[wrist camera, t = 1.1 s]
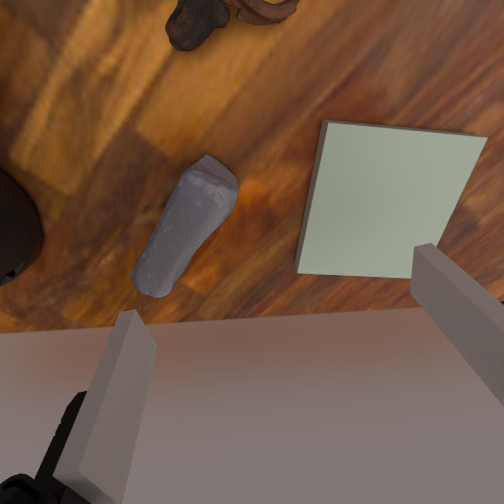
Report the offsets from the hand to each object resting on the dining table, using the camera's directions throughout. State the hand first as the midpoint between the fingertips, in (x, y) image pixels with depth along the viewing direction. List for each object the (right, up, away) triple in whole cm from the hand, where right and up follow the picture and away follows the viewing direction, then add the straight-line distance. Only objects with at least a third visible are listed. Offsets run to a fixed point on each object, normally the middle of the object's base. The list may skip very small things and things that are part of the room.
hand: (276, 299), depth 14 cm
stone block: (-7, +8, +17) cm, 20 cm away
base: (+12, +7, +18) cm, 23 cm away
